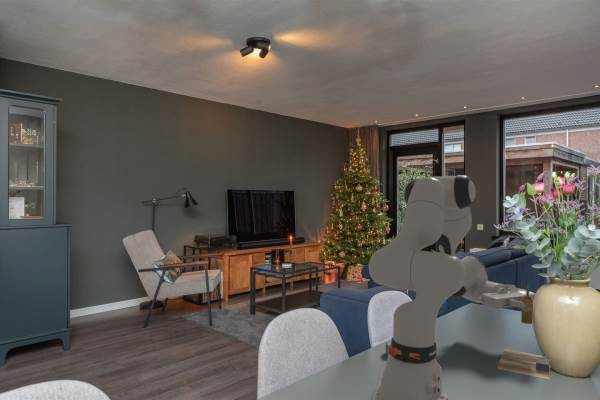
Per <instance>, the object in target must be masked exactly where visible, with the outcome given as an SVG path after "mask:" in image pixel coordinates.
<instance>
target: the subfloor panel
mask: <svg viewBox="0 0 600 400" xmlns="http://www.w3.org/2000/svg"><path fill="white" fill-rule="evenodd" d="M537 356H538V357H541V356H542V357H543V356H544V355H540V354H538V355H537V354H533V353H528V352H523V351H518V350H512V349H507V348H503V352H502V354H501V357H500V359H499V361H498V365H497V368H496V369H497V370H502V371H505V372H510V373H516V374H520V375H526V376H529V377H535V378H538V379H545V380H548V381H550V380H551V378H550V376H551V364H550V365H549V372H545V371H541V370H536V359H537Z"/></svg>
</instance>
